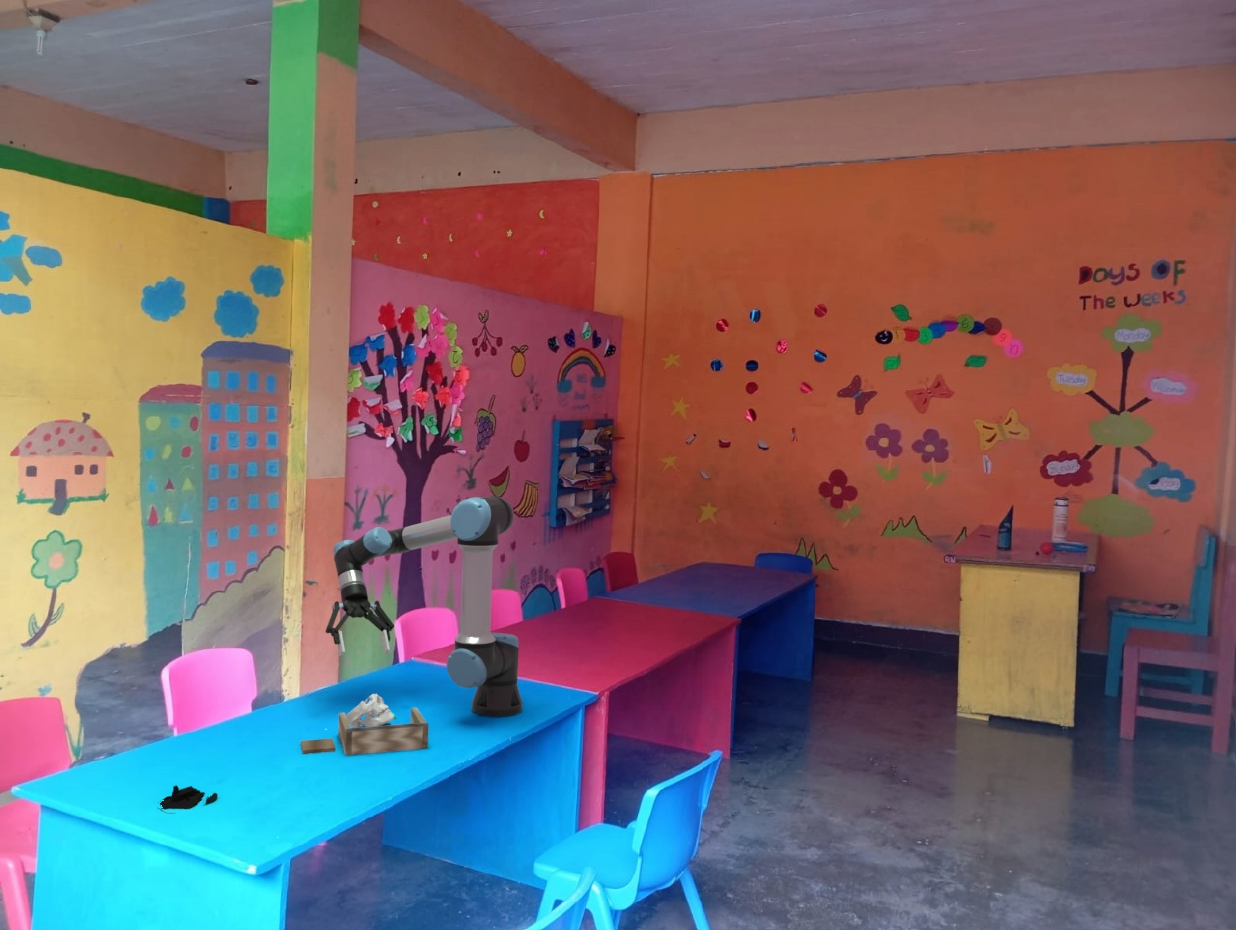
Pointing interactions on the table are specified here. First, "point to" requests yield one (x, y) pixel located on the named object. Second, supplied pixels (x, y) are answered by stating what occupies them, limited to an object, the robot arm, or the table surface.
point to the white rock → (370, 713)
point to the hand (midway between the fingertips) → (365, 652)
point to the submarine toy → (185, 798)
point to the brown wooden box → (384, 736)
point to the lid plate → (317, 746)
